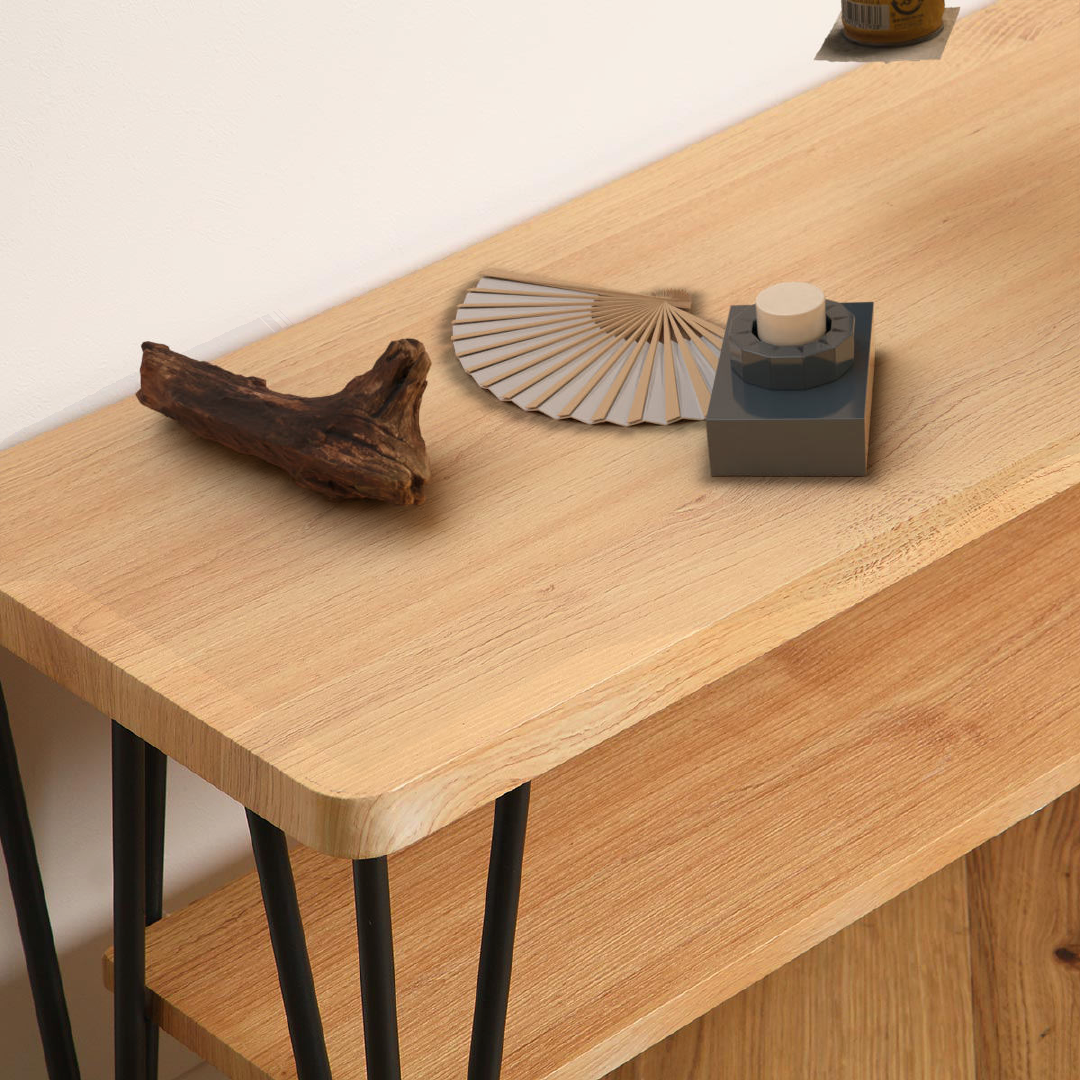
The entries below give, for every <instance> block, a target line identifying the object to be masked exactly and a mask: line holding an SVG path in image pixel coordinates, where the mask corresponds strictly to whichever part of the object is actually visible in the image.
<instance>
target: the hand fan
mask: <svg viewBox="0 0 1080 1080" xmlns="http://www.w3.org/2000/svg"><path fill="white" fill-rule="evenodd" d="M479 276H482V277H481V278H480V279H479V281H478V283H477V285H476V287H470V288H468V289H466V291H468V292H467V293H466V296H465V298H464V301H463V303H459V304H457V305H456V307H455V308H458V309H456V314H455V319H453V320H452V321H451V322H450V324H453V325H452V335H451V337H450V340H451V341H452V344H453V348H454V352H455V353H454V355H455V357H456V358H457V359H458V360H459V362H460V364H461V366H462V368H463V370H464V372H465V373H466V374H467V375H469V376H471V378H473V380H474V381H475V383H476V384H477V385H478V386H479V388H481V389H486V390H489V391H490V392H491V393H492V394H493V395H494V396H495V397H496V398H497V399H498V400H499V401H501V402H512V403H513V404H515V405H516V406H517V407H519V408H520V409H521V410H523V411H525V412H533V411H538V412H541V413H543V414H545V415H546V416H548V417H550V418H551V419H554V420H556V421H557V420H563V419H564V420H565V419H568V418H572V419H574V420H577V421H580V422H582V423H585V424H586V425H589V426H590V425H595V424H599V423H600V424H601V423H605V422H609V423H611V424H615V425H617V426H622V427H630V426H633V425H638V424H641V423H644V422H646V423H650V424H651V423H652V424H656V425H661V426H668V425H670V424H673V423H675V422H678V421H680V420H683V419H684V420H693V421H701V422H702V421H706V416H707V411H708V407H709V402H710V397H711V393H712V388H713V384H714V379H715V375H716V370H717V365H718V361H719V356H720V352H721V347H722V342H723V338H724V333H725V329H726V328H723V327H721V326H719V325H717V324H714V323H712V322H709V321H708V320H705V319H703V318H701V317H698V316H696V315H694V314H693V313H692V314H691V313H690V312H688V311H685V310H684V309H687V310H692V304H693V298H692V296H691V294H690V293H689V292H687V291H686V290H685V291H684V290H683V289H682V290H681V289H678V290H677V289H676V288H675V289H673V288H672V287H671V288H670V290H669V288H667V289H666V291H665V289H664V288H662V290H663V291H662V292H661V291H659V293H660V294H659V293H658V291H657V290H654V292H655V293H656V294H655V293H654V292H653V291H651V294H652V295H650V294H648V293H646V294H644V293H638V292H633V291H626V290H621V289H615V288H608V287H602V286H596V285H591V284H585V283H579V282H573V281H568V280H567V281H566V280H561V279H555V278H549V277H544V276H538V275H532V274H526V273H519V272H514V271H508V270H502V269H495V268H488V269H486V270H483V271H481V272H480V273H479ZM669 321H670V322H669ZM676 321H677V322H676ZM677 323H678V324H680V327H681V328H682V329H683V331H685V333H686V335H687V336H688V337H689V339H690V340H688V339H686V338H684V336H683V334H682V333H681V331H680V329H679V327H678V324H677ZM670 324H671V327H672V331H673V333H674V336H675V338H676V341H677V342H676V341H674V340H672V337H671V329H670ZM662 326H663V343H662V342H661V341H659V340H660V336H661V331H662ZM689 326H690V327H689ZM691 328H693V329H694V330H695V331H696V332H697V333H699V334H700V335H701V337H700V336H698V335H697V334H696V333H695V332H694V331H693V330H692V329H691ZM611 330H612V331H611ZM644 330H645V331H644ZM653 330H654V331H653ZM607 332H608V333H607ZM652 332H653V334H652ZM631 333H632V335H630V334H631ZM642 333H643V334H642ZM641 334H642V335H641ZM651 334H652V338H651V341H650V342H649V341H648V339H649V337H650V336H651ZM629 335H630V336H629ZM640 335H641V337H640ZM627 336H629V338H628V339H625V338H626V337H627ZM639 337H640V339H639V340H638V342H637V341H636V340H637V339H638V338H639Z"/></svg>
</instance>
